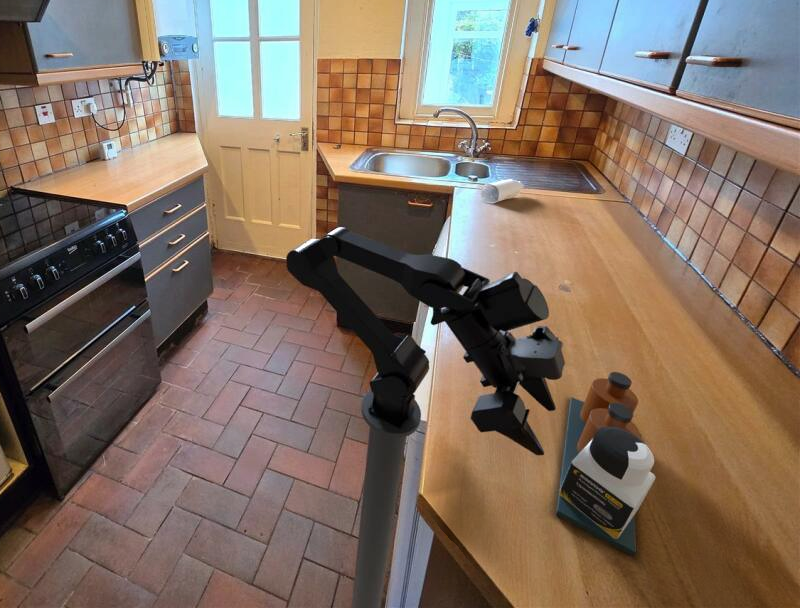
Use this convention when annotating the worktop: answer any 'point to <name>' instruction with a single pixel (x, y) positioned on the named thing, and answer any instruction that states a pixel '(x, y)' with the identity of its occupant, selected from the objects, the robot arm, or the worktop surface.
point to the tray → (568, 510)
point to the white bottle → (501, 190)
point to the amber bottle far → (609, 394)
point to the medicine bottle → (610, 479)
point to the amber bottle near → (607, 422)
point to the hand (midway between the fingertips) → (547, 431)
